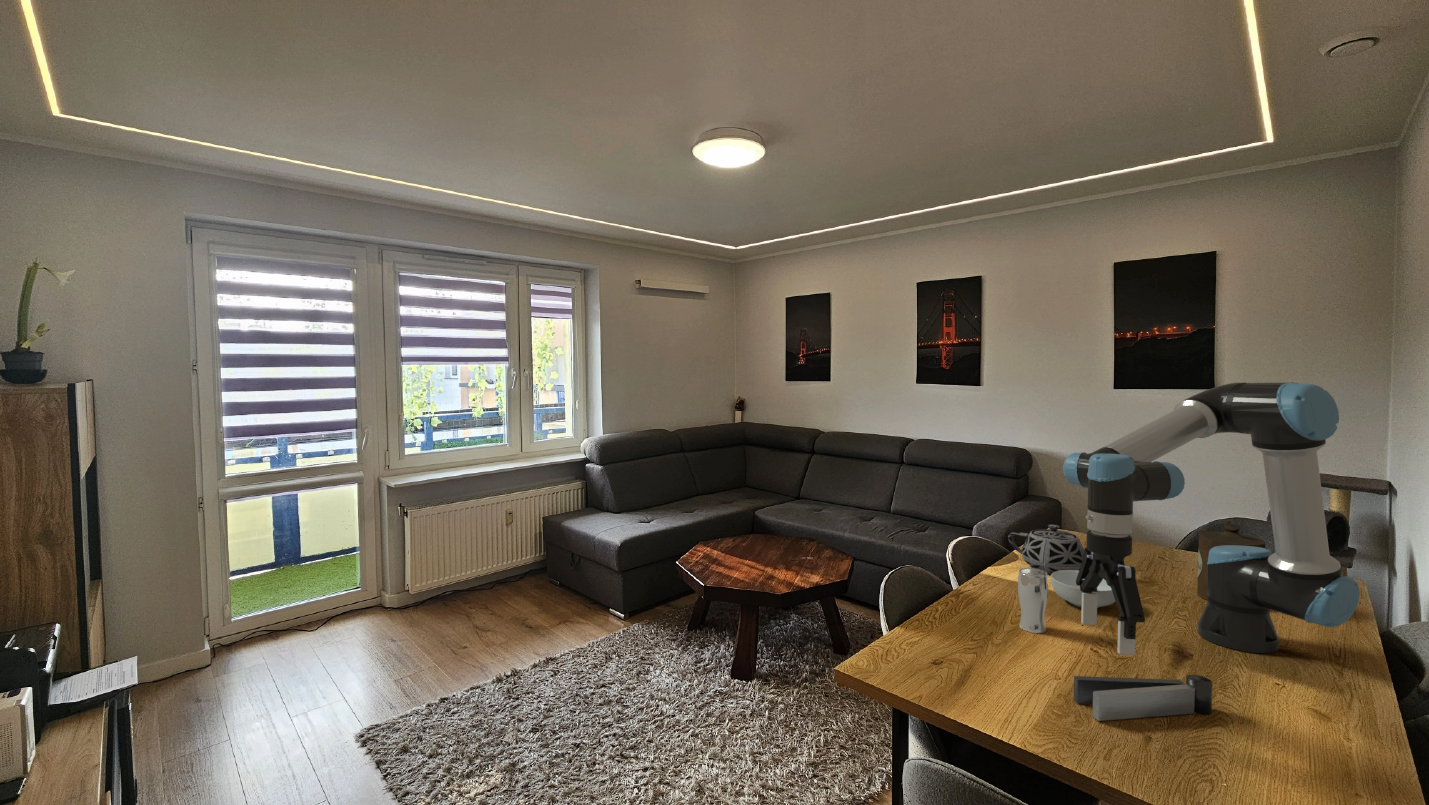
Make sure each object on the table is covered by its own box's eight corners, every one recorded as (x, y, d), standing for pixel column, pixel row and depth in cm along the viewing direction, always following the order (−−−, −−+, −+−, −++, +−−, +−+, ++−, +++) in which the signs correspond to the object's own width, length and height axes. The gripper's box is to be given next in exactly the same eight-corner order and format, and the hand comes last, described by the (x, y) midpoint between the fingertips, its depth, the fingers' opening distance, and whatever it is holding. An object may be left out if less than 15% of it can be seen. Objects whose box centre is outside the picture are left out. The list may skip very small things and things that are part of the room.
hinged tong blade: (1187, 709, 117) (1187, 684, 117) (1194, 713, 116) (1194, 688, 116) (1092, 716, 115) (1093, 691, 115) (1098, 721, 114) (1098, 695, 114)
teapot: (1104, 588, 183) (1105, 540, 183) (999, 567, 205) (999, 524, 204) (1116, 572, 197) (1117, 527, 197) (1016, 554, 218) (1017, 513, 218)
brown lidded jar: (1218, 587, 182) (1220, 516, 181) (1277, 605, 168) (1279, 528, 167) (1184, 594, 178) (1186, 521, 177) (1242, 612, 164) (1244, 533, 163)
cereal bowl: (1055, 610, 167) (1055, 585, 167) (1046, 590, 183) (1047, 567, 182) (1126, 618, 161) (1127, 592, 161) (1112, 597, 176) (1112, 573, 176)
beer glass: (1051, 635, 151) (1052, 577, 151) (1022, 633, 153) (1022, 575, 152) (1042, 624, 158) (1043, 568, 158) (1014, 622, 160) (1014, 567, 159)
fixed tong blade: (1202, 704, 119) (1202, 675, 119) (1216, 715, 116) (1217, 685, 115) (1072, 698, 122) (1073, 670, 122) (1082, 709, 118) (1083, 680, 118)
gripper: (1059, 517, 131) (1057, 612, 132) (1125, 550, 106) (1122, 667, 107) (1096, 518, 130) (1093, 613, 131) (1170, 551, 105) (1167, 669, 106)
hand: (1106, 638), depth 119 cm, fingers open, 13 cm apart
